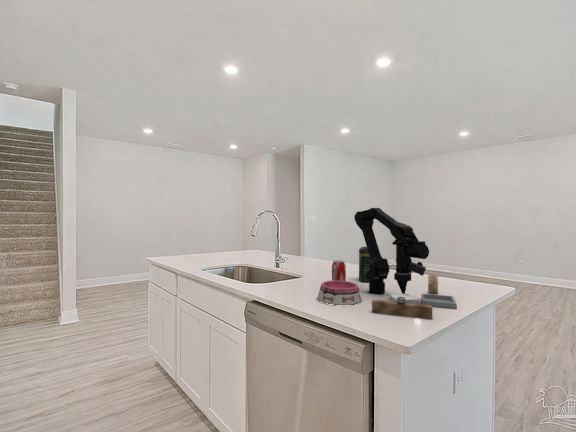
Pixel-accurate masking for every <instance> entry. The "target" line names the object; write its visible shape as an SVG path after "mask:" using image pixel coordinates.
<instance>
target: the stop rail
mask: <svg viewBox="0 0 576 432" xmlns="http://www.w3.org/2000/svg"><path fill="white" fill-rule="evenodd" d="M371 313H373V314H379V315H381V314H383V315H391V316H397V317H398V316H399V317H405V318H407V317H408V318H415V319H416V318H417V319H427V320H433V307H432V305H423V304H422V303H417V304H413V303H405V298H404V297H397V302H392V301H389V300H380V299H372V301H371Z"/></svg>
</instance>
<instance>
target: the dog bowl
mask: <svg viewBox="0 0 576 432" xmlns="http://www.w3.org/2000/svg"><path fill="white" fill-rule="evenodd" d="M317 294H318V295H317V300H320V301H322V302H324V303H328V304H334V305H333V306H335V305H351V306H355V304H357V305H359V304H361V303H362V302H363V299H362V296H361V292H360V288H359V285H358V284H357V283H355V282H352V281H348V280H346V281H332V280H326V281H324V282H323V281H322V283H321V284H320V287H319V291H318V293H317ZM320 301H319V302H320ZM324 303H323V304H324ZM358 303H359V304H358ZM328 304H327V305H328Z"/></svg>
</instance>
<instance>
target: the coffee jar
mask: <svg viewBox="0 0 576 432" xmlns="http://www.w3.org/2000/svg"><path fill="white" fill-rule="evenodd" d="M369 262H370V256H369V252H368V249H367V246H361V247H360V248H359V249H358V280H359V281H360V282H363V283H369V280H368V279H366V276H365V274H366V273H367V272H368V271H369Z"/></svg>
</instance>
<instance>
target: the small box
mask: <svg viewBox="0 0 576 432" xmlns="http://www.w3.org/2000/svg"><path fill="white" fill-rule="evenodd" d="M397 297H404V298H405V303H413V304H418V299H417V298H416V297H413V296H412V295H410V294H407V293H405V294H402V293H401V294H398V293H397V294H388V301H392V302H397Z"/></svg>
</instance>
